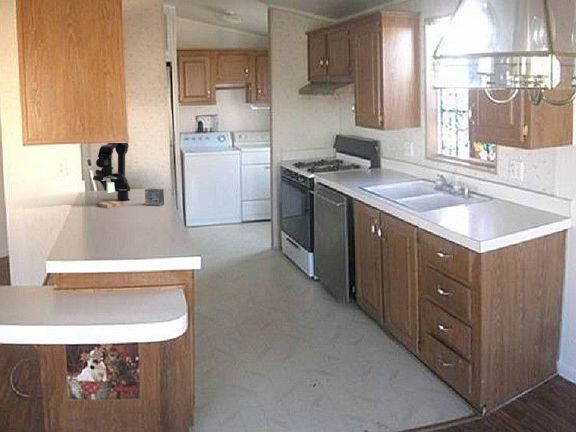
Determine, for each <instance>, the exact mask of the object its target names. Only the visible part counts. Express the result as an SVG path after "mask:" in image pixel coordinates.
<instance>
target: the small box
mask: <svg viewBox="0 0 576 432" xmlns="http://www.w3.org/2000/svg"><path fill="white" fill-rule="evenodd" d="M144 197H145V206H148V207H149V206H151V207H161V206H164V205H165V195H164V188H146V189H144Z"/></svg>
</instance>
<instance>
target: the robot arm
mask: <svg viewBox="0 0 576 432" xmlns="http://www.w3.org/2000/svg"><path fill="white" fill-rule="evenodd" d="M114 149H115V152H116V153H117V172H114V173H113V170H114V166H113V162H112V161H113V160H112V159H113V154H114ZM128 151H129V142H127V143H109V142H108V143H106V144H104V145H101V146H100V147H99V149H98V154H97V159H96V161H95V165H96V166H97V167H98V168H101V170H100V169H95V170H94V171H95V172H94V173H95V175H93V177H92V180H93V181H95V182H96V181H97V182H100V184H101V186H102V188H104V190H105V191H106V185H107V182H108V181H107V179H109V180H110V182H113V183H114V189H115V192H117V202H125V201H131V199H130V198H129V192H130V191H131V187H130V185H129V183H128V178H127V177H126V155H127V153H128Z"/></svg>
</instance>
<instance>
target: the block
mask: <svg viewBox="0 0 576 432" xmlns="http://www.w3.org/2000/svg"><path fill="white" fill-rule="evenodd" d="M102 188H103V187H102ZM102 191H103V193H105V194H106V193H107V194H108V193H109V194H110V193H115V192H116V191H115V186H114V183H113V182H111V181H107V185H106V191H105V190H104V188H103V189H102Z"/></svg>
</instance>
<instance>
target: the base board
mask: <svg viewBox="0 0 576 432" xmlns="http://www.w3.org/2000/svg"><path fill="white" fill-rule="evenodd" d="M95 203H96V205H95V206H96V207H98V208H99V207H100V208H105V209H109V208H116V207H122V206H124V201H118V200H116V201H115V200H108V201H102V202H95Z"/></svg>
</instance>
